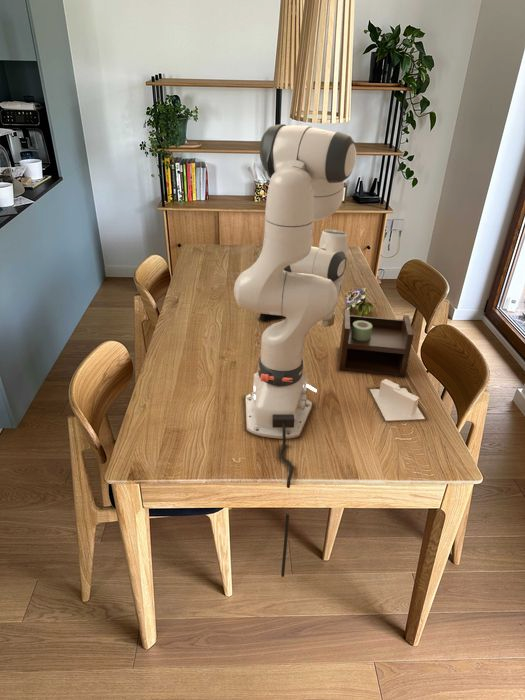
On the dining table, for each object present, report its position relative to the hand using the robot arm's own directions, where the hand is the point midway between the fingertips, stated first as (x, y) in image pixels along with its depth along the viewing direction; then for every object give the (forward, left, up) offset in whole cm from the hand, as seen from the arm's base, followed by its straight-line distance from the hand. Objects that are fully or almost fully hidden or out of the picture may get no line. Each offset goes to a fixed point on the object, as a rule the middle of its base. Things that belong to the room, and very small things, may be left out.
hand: (325, 319), depth 164 cm
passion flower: (+31, -13, -11) cm, 35 cm away
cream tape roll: (0, 0, -1) cm, 1 cm away
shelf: (-7, -16, -11) cm, 20 cm away
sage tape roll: (-8, -11, -1) cm, 14 cm away
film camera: (+22, +19, -11) cm, 31 cm away
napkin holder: (-28, -22, -11) cm, 38 cm away
